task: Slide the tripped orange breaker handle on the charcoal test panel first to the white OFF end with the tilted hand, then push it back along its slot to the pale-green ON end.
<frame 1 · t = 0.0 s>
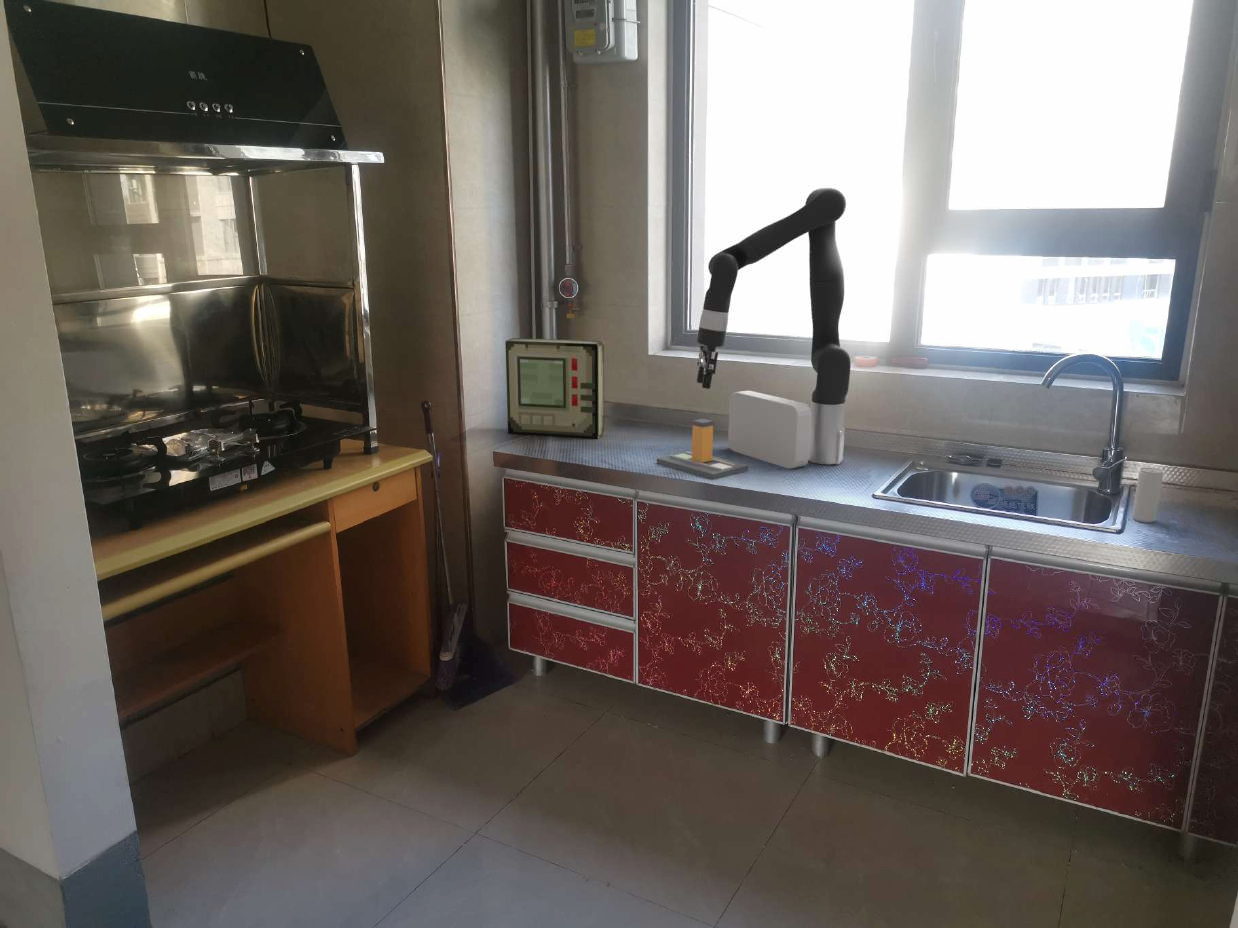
hand: (703, 385, 253), 22 cm above the worktop, tool pointing down, fingers open, 8 cm apart
control panel 2: (556, 434, 294), on the worktop
rounded white slab: (766, 459, 265), on the worktop
beverage can: (1143, 520, 211), on the worktop
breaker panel: (701, 466, 255), on the worktop
breaker handle: (702, 440, 253), point 8 cm above the worktop, slide at 0.0 cm
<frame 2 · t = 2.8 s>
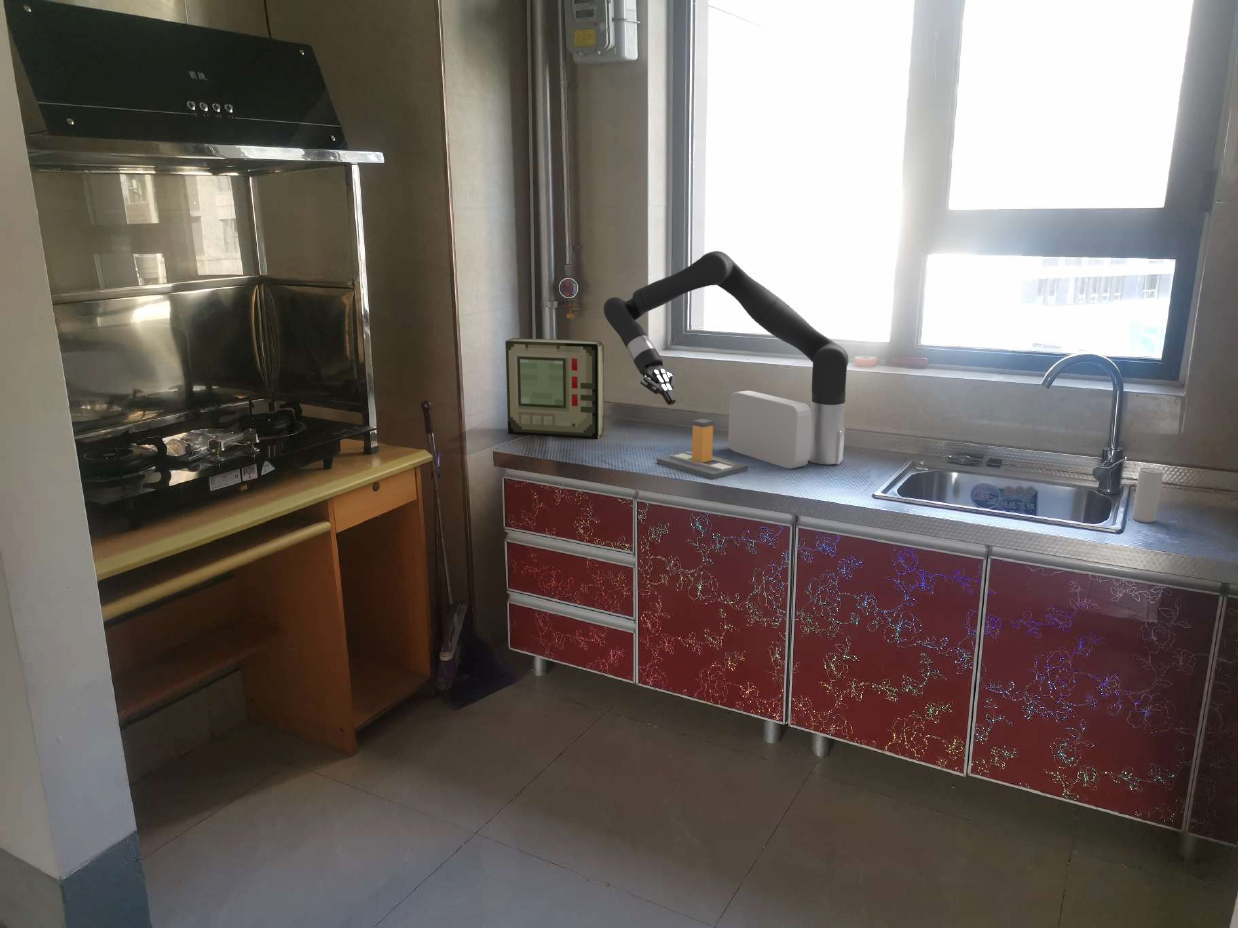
hand: (672, 403, 260), 16 cm above the worktop, tool tilted 45°, fingers closed
nothing on the worktop moved.
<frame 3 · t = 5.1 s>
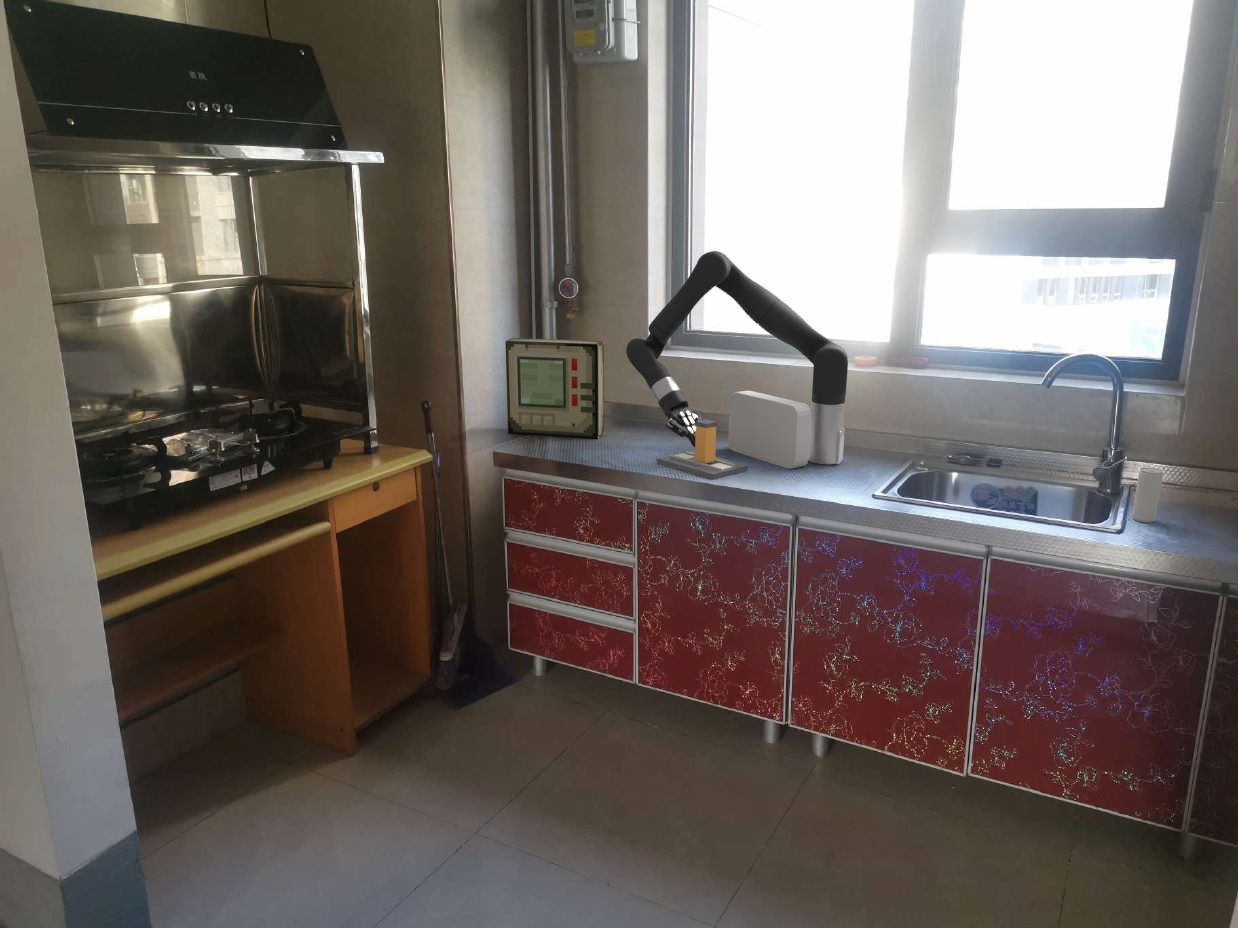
hand: (699, 446, 255), 6 cm above the worktop, tool tilted 45°, fingers closed
breaker handle: (705, 441, 252), point 8 cm above the worktop, slide at 1.2 cm, touching gripper
everything else where it was.
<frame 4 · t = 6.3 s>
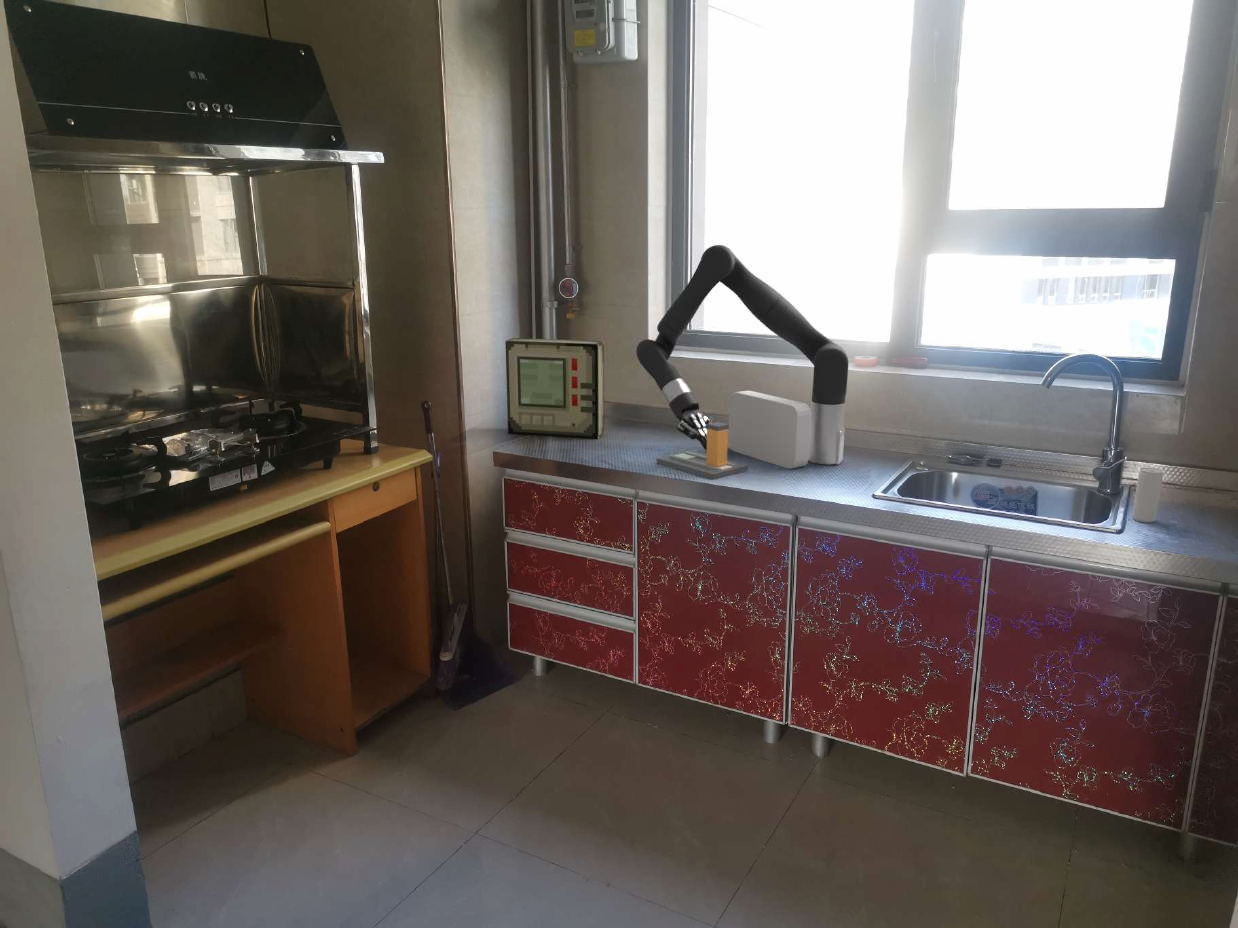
hand: (710, 448, 252), 6 cm above the worktop, tool tilted 45°, fingers closed
breaker handle: (717, 444, 249), point 8 cm above the worktop, slide at 5.6 cm, touching gripper
everything else where it was.
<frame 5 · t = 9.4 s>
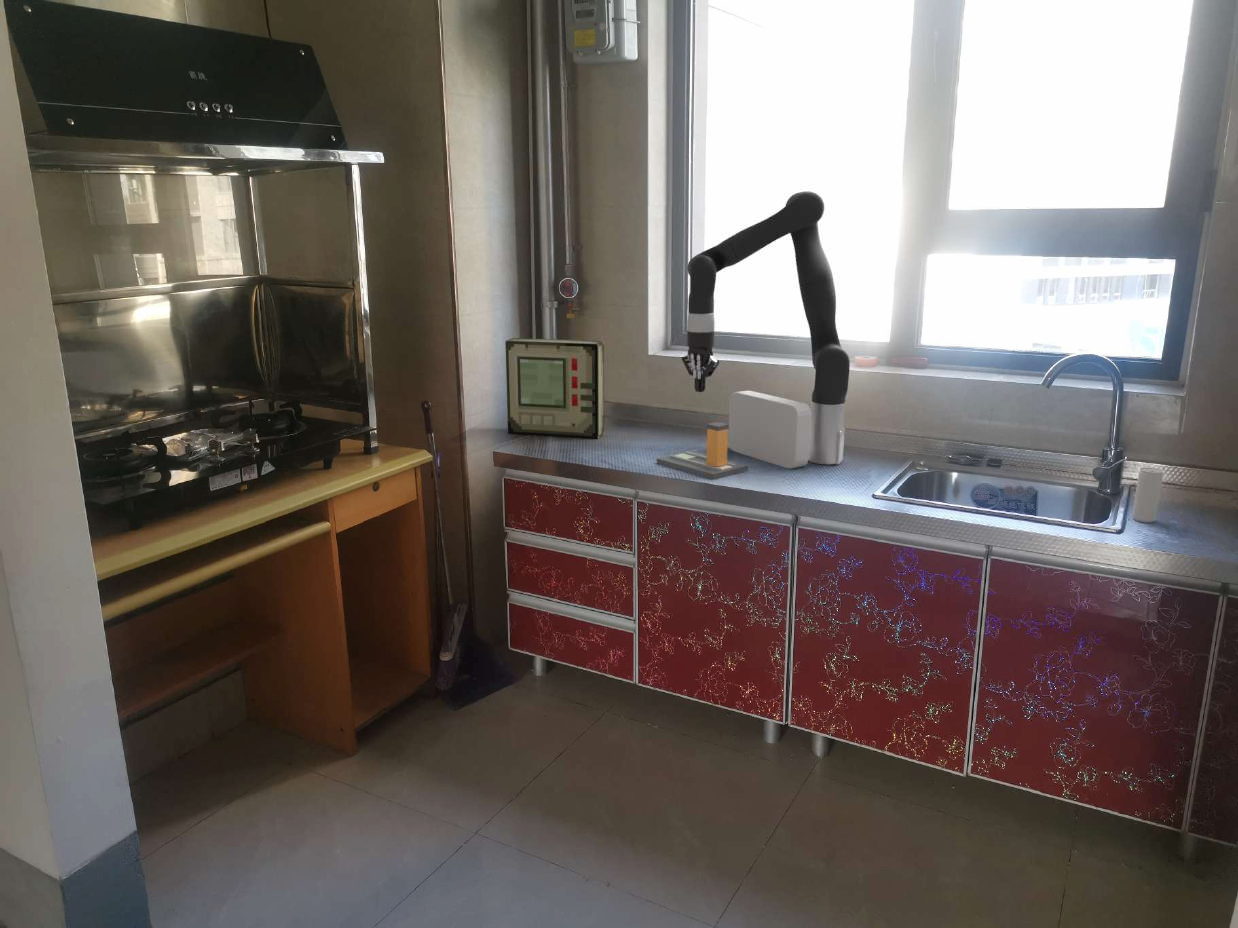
hand: (699, 391, 255), 20 cm above the worktop, tool pointing down, fingers closed
breaker handle: (717, 444, 249), point 8 cm above the worktop, slide at 5.6 cm
everything else where it was.
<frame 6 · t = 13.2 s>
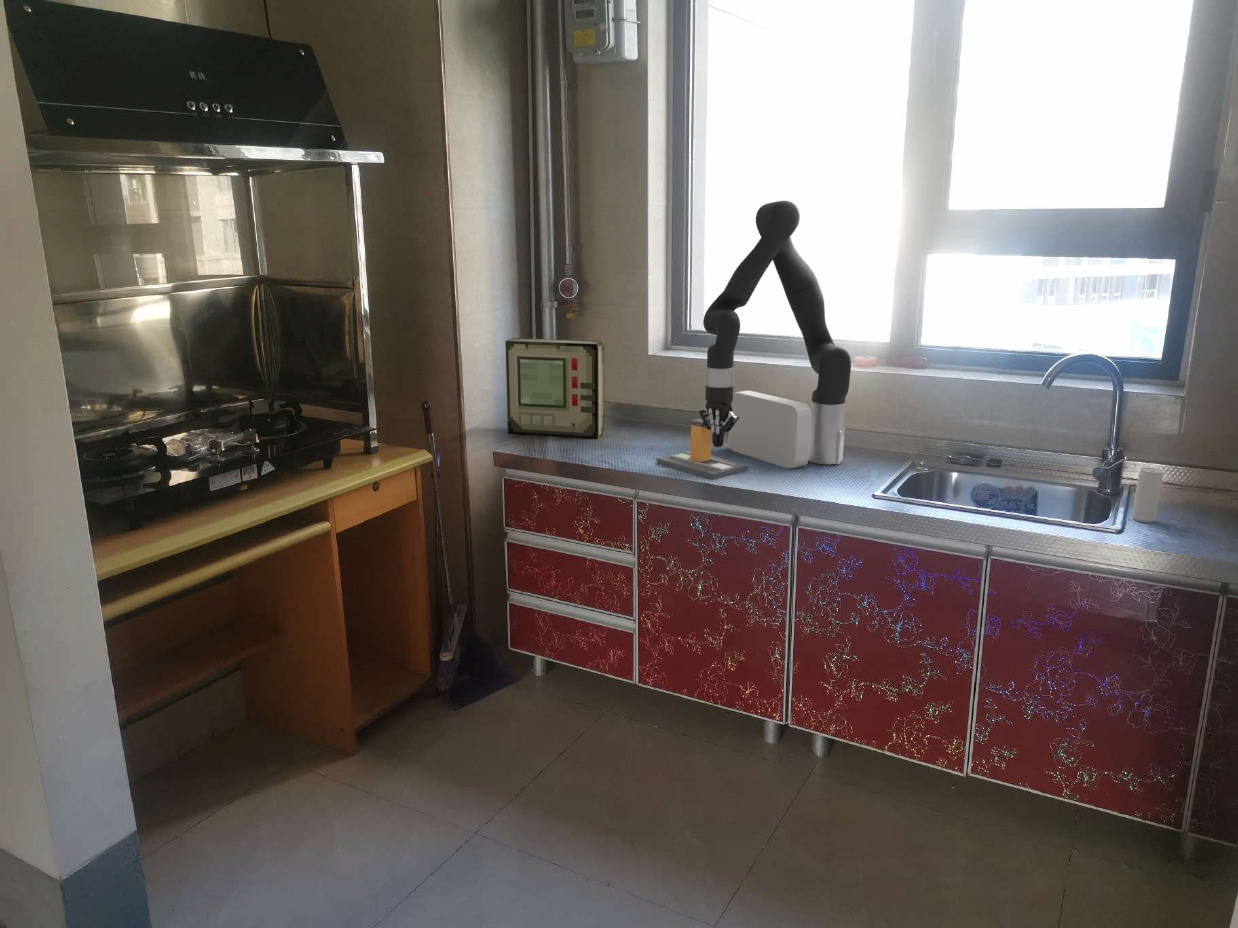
hand: (717, 446, 249), 7 cm above the worktop, tool pointing down, fingers closed
breaker handle: (700, 440, 254), point 8 cm above the worktop, slide at -0.6 cm, touching hand
everything else where it was.
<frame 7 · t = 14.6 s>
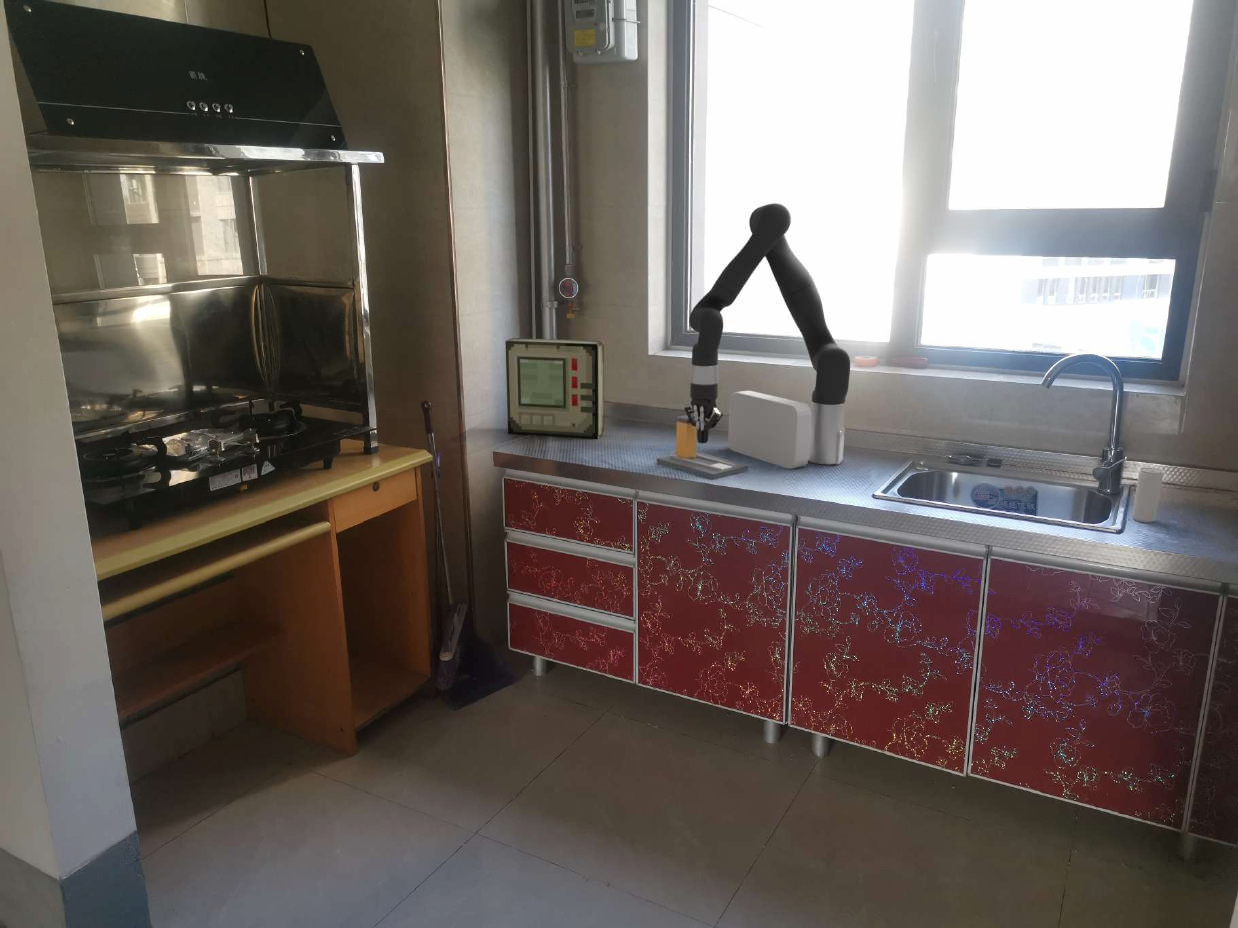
hand: (702, 442, 253), 7 cm above the worktop, tool pointing down, fingers closed
breaker handle: (686, 436, 258), point 8 cm above the worktop, slide at -6.3 cm, touching hand
everything else where it was.
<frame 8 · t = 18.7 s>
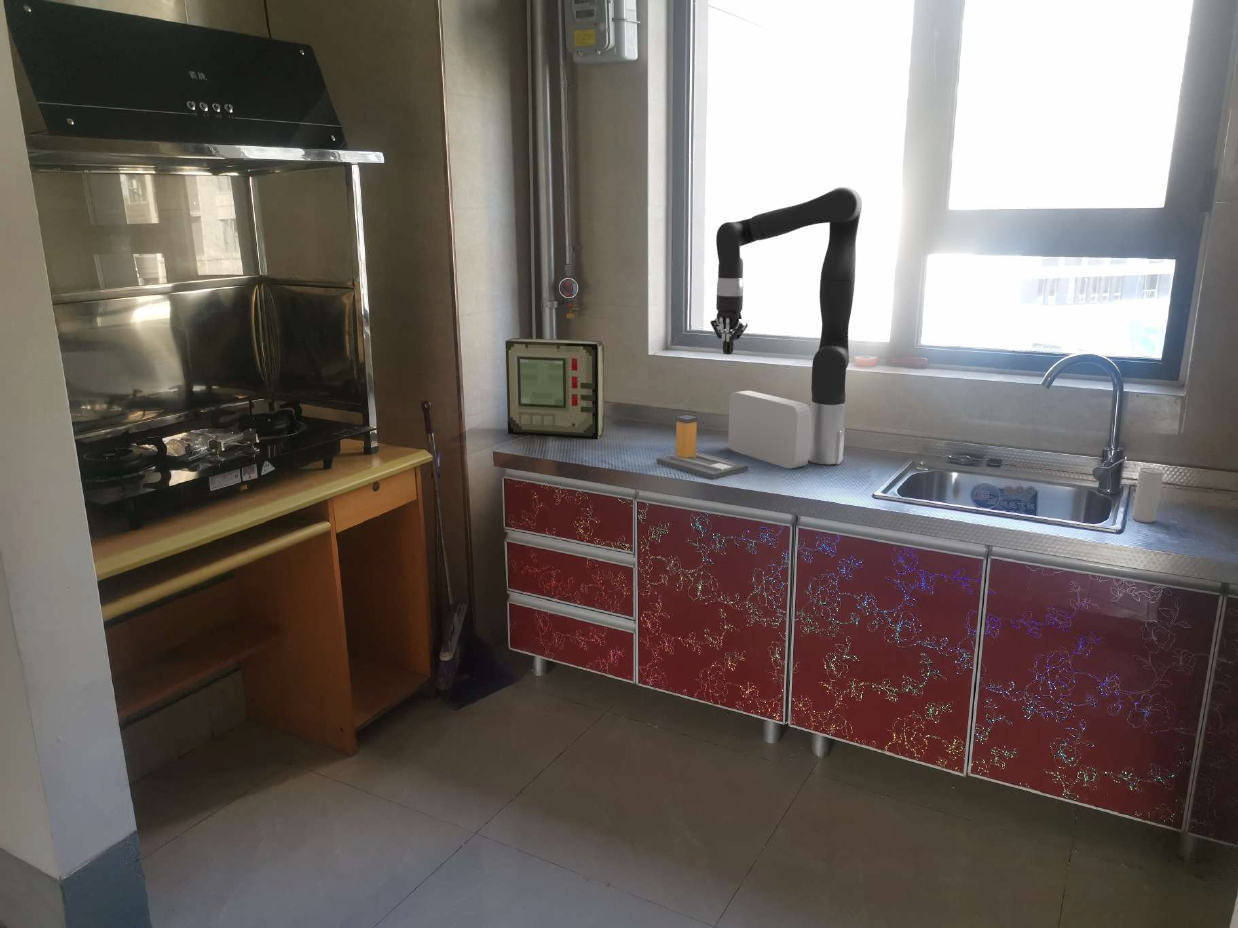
hand: (727, 354, 266), 29 cm above the worktop, tool pointing down, fingers closed
breaker handle: (686, 436, 258), point 8 cm above the worktop, slide at -6.3 cm
everything else where it was.
at the end: breaker handle slide at -6.3 cm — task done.
